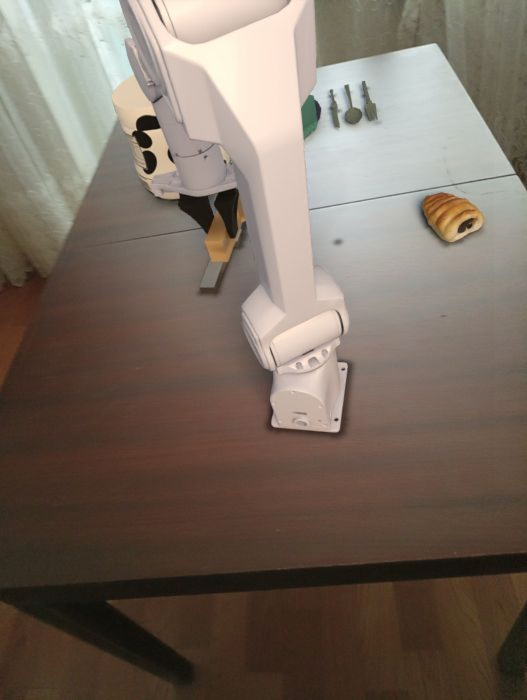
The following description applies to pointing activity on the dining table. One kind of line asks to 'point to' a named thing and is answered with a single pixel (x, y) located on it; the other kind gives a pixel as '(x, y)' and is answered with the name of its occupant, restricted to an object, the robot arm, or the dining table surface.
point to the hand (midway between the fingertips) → (224, 234)
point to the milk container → (145, 134)
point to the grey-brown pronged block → (217, 269)
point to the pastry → (451, 216)
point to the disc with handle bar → (222, 237)
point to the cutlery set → (334, 111)
